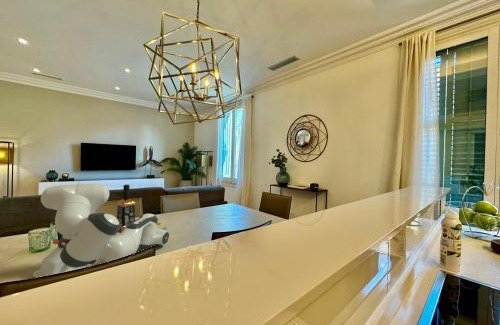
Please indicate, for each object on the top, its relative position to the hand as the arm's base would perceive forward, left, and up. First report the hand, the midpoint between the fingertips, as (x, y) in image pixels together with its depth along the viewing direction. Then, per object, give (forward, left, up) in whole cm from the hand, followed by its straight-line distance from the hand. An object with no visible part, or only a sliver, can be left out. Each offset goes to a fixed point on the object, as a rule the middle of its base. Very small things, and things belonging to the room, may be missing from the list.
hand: (130, 229), depth 138 cm
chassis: (+17, -2, -6) cm, 18 cm away
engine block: (0, -1, -6) cm, 6 cm away
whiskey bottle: (+10, +17, -6) cm, 21 cm away
